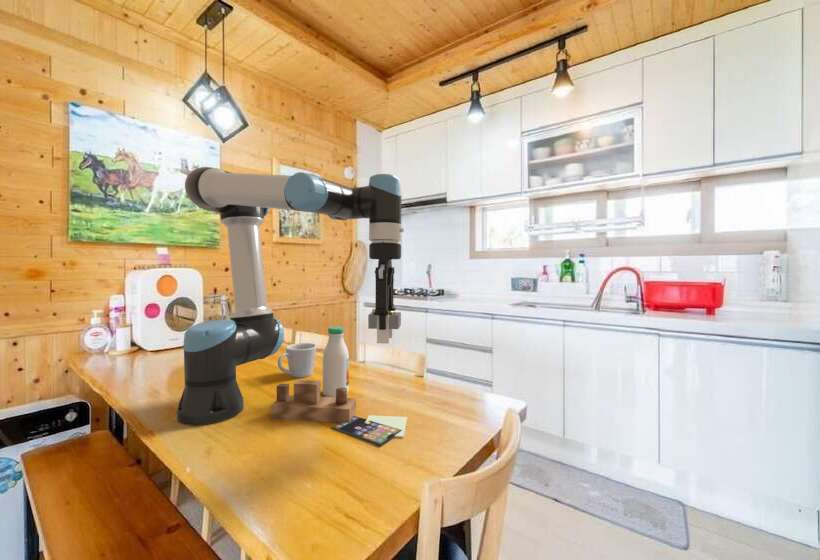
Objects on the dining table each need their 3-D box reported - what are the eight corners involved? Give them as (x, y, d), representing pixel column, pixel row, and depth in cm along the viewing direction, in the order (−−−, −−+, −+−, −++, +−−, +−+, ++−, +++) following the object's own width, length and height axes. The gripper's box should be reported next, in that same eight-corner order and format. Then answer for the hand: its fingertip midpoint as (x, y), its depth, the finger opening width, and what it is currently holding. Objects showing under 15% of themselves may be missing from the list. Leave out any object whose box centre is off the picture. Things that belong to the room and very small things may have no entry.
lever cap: (368, 328, 82) (368, 310, 82) (372, 324, 88) (372, 307, 87) (398, 329, 82) (398, 311, 82) (400, 325, 87) (400, 308, 87)
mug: (323, 373, 126) (323, 345, 126) (288, 385, 114) (288, 354, 113) (303, 368, 132) (303, 341, 131) (267, 379, 119) (267, 349, 119)
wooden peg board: (271, 418, 89) (270, 385, 89) (283, 407, 96) (283, 376, 96) (349, 422, 88) (349, 389, 87) (355, 411, 95) (356, 379, 94)
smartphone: (354, 418, 91) (354, 413, 91) (401, 434, 83) (402, 429, 83) (331, 430, 85) (331, 425, 85) (380, 449, 77) (380, 443, 76)
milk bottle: (342, 399, 103) (343, 330, 102) (318, 396, 104) (318, 329, 103) (352, 389, 110) (352, 325, 109) (329, 387, 112) (329, 324, 111)
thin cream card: (360, 435, 81) (360, 433, 81) (368, 416, 91) (368, 415, 91) (403, 437, 81) (403, 436, 81) (407, 418, 90) (407, 417, 90)
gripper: (396, 240, 74) (395, 350, 75) (404, 244, 93) (404, 333, 94) (361, 240, 75) (361, 349, 76) (376, 244, 93) (376, 332, 94)
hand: (384, 340), depth 85 cm, fingers closed on lever cap, 5 cm apart
